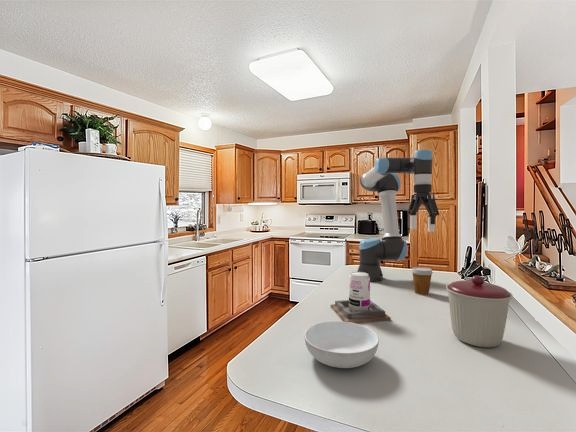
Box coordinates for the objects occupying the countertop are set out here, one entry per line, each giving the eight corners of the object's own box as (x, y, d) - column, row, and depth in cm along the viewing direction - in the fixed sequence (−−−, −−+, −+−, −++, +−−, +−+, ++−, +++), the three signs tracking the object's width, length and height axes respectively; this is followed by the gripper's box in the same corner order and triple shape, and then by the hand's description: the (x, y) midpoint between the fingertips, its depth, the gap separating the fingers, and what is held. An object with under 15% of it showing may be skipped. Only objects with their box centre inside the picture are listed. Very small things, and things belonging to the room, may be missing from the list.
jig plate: (330, 306, 128) (330, 299, 128) (370, 304, 131) (370, 297, 131) (345, 323, 111) (345, 315, 111) (390, 320, 114) (390, 312, 113)
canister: (446, 324, 109) (447, 267, 108) (507, 335, 100) (509, 273, 99) (443, 345, 94) (444, 278, 93) (514, 360, 85) (517, 286, 84)
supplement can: (367, 307, 125) (368, 271, 124) (371, 314, 117) (371, 276, 116) (347, 306, 126) (348, 271, 125) (350, 314, 117) (350, 276, 117)
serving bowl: (328, 335, 101) (328, 315, 101) (389, 355, 88) (390, 332, 87) (289, 360, 85) (289, 336, 85) (357, 390, 72) (357, 361, 71)
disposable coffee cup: (435, 296, 143) (436, 271, 142) (415, 295, 143) (416, 271, 142) (427, 290, 152) (427, 266, 152) (408, 290, 152) (408, 266, 152)
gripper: (448, 182, 126) (447, 232, 127) (414, 185, 150) (413, 227, 151) (432, 182, 124) (431, 233, 125) (400, 185, 149) (400, 228, 150)
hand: (421, 230), depth 138 cm, fingers open, 13 cm apart
